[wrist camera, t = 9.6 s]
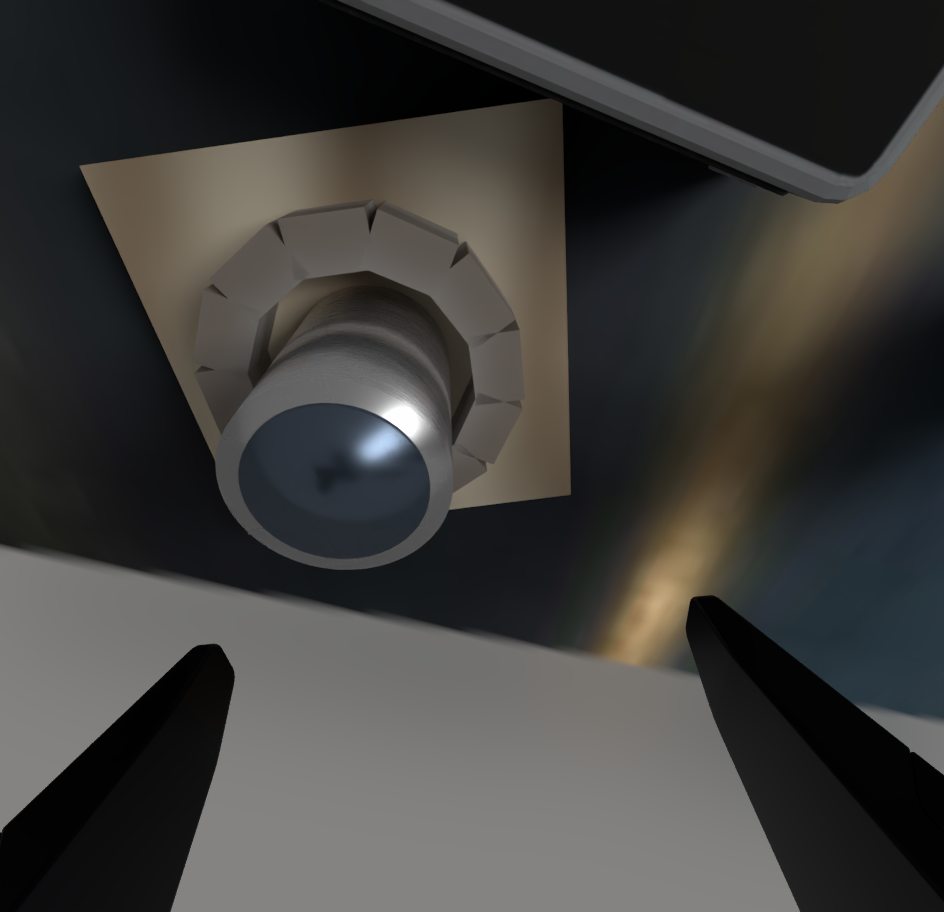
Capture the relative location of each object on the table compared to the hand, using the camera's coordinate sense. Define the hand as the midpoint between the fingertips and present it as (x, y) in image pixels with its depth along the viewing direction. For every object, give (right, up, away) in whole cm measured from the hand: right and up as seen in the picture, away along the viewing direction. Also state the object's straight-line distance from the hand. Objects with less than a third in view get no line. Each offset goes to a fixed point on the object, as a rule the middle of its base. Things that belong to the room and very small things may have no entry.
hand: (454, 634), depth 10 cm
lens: (-3, +7, +7) cm, 10 cm away
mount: (-3, +7, +8) cm, 11 cm away
